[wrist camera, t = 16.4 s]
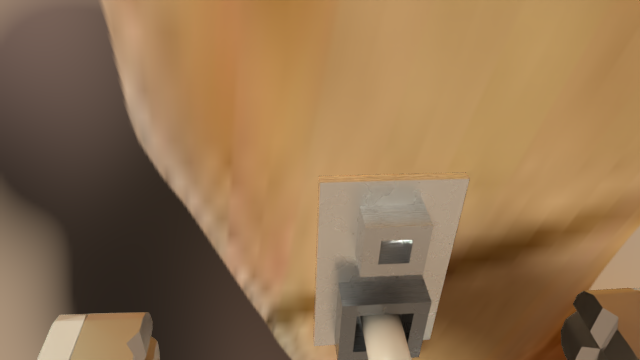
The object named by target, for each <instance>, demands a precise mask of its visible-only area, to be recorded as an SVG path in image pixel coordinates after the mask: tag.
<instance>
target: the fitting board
mask: <svg viewBox="0 0 640 360" xmlns="http://www.w3.org/2000/svg"><path fill="white" fill-rule="evenodd" d="M468 183H469V177H468V175H467V174H466V172H457V173H418V174H378V175H339V176H319V188H318V217H317V245H316V274H315V302H314V331H313V341H314V346H322V345H335V346H336V354H337V360H368V356H367V351H366V345H365V340H364V335H363V330H362V324H361V319H360V316H369V315H389V314H399V315H400V318H401V322H402V326H403V330H404V333H405V337H406V341H407V344H408V348H409V352H410V355H411V358H414V357H419V354H420V350H421V345H422V341H423V340H430V337H431V333H432V329H433V324H434V320H435V316H436V312H437V308H438V304H439V300H440V296H441V292H442V288H443V284H444V280H445V276H446V272H447V268H448V264H449V260H450V256H451V252H452V248H453V243H454V239H455V235H456V231H457V227H458V223H459V219H460V215H461V211H462V207H463V203H464V199H465V195H466V191H467V187H468Z"/></svg>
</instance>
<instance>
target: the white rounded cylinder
mask: <svg viewBox="0 0 640 360" xmlns="http://www.w3.org/2000/svg"><path fill="white" fill-rule="evenodd" d="M360 319H361V324H362V330H363V335H364V340H365V345H366V351H367V356H368V360H412V359H411V355H410V352H409V348H408V344H407V341H406V337H405V333H404V330H403V326H402V322H401V318H400V315H399V314H389V315H369V316H360Z"/></svg>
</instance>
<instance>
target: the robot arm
mask: <svg viewBox="0 0 640 360" xmlns="http://www.w3.org/2000/svg"><path fill="white" fill-rule="evenodd" d="M573 305H574V307H575V309H576V312H575V313H574V314H572V315H571V316H569V317H568V318H567V319H566V320H565V322H564V325H563V327H562V329H561V345H562V348H563V351H564V354H565V356H566V358H567V360H640V288H633V289H631V288H622V289H606V290H589V291H583V292H581V293H580V294H578V295H577V297H576V299H575V301H574V303H573ZM152 328H153V323H152V320H151V316H150V313H104V314H103V313H102V314H101V313H100V314H75V315H60V316H59V317H58V318H57V319H56V320H55V321H54V322H53V324H52V326H51V328H50V331H49V333H48V335H47V338H46V340H45V342H44V345H43V347H42V349H41V352H40V354H39V356H38V359H37V360H160V358H159V357H160V356H159V348H158V343H157V341H156V340H155V339H154V338H152V337H151V332H152Z"/></svg>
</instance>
